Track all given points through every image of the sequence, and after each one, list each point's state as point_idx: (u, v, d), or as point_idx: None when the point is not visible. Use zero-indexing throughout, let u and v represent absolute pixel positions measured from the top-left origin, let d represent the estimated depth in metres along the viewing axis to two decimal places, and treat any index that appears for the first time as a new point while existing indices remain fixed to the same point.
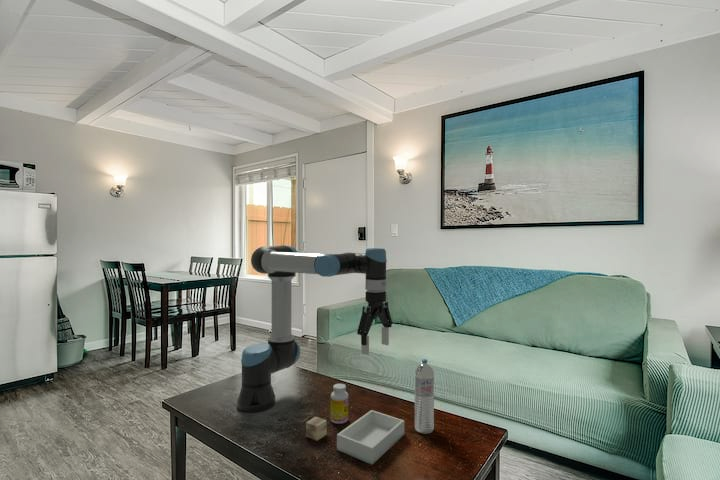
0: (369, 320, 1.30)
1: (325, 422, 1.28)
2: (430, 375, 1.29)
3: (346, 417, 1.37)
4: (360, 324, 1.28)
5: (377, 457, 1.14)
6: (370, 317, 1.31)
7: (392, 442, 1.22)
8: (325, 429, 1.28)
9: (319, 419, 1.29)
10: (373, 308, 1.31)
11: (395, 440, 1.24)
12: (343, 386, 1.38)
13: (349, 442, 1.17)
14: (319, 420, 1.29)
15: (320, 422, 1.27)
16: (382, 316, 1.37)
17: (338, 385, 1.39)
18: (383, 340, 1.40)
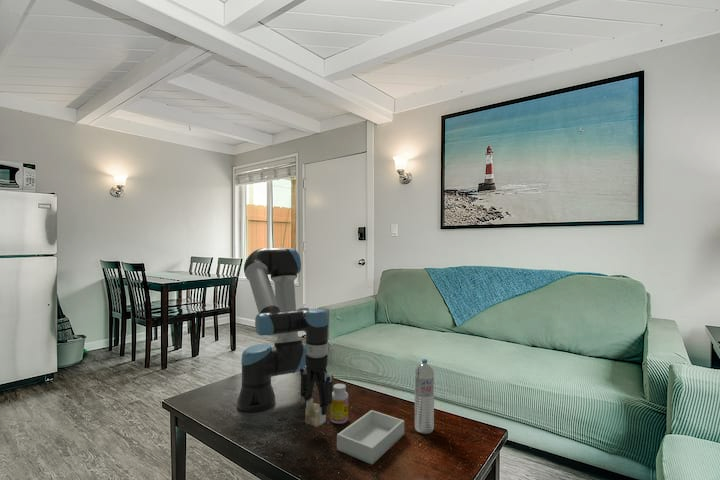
0: None
1: None
2: (430, 375, 1.29)
3: (346, 417, 1.37)
4: None
5: (377, 457, 1.14)
6: None
7: (392, 442, 1.22)
8: None
9: (318, 405, 1.30)
10: (307, 369, 1.29)
11: (395, 440, 1.24)
12: (343, 386, 1.38)
13: (349, 442, 1.17)
14: (318, 406, 1.29)
15: None
16: None
17: (338, 385, 1.39)
18: None
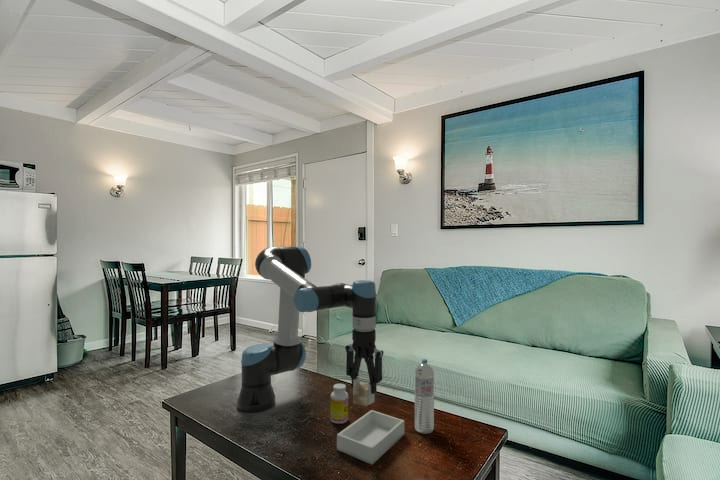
0: None
1: None
2: (430, 375, 1.29)
3: (346, 417, 1.37)
4: None
5: (377, 457, 1.14)
6: None
7: (392, 442, 1.22)
8: None
9: (366, 384, 1.21)
10: (353, 346, 1.20)
11: (395, 440, 1.24)
12: (343, 386, 1.38)
13: (349, 442, 1.17)
14: (366, 385, 1.20)
15: None
16: None
17: (338, 385, 1.39)
18: None
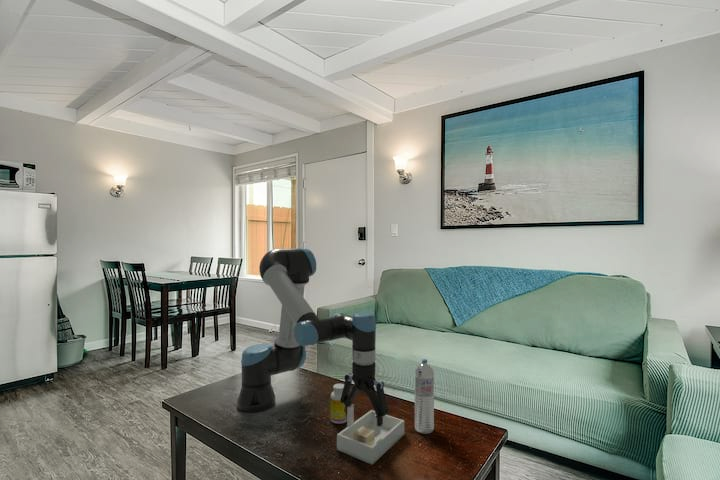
0: None
1: (373, 432, 1.20)
2: (430, 375, 1.29)
3: (346, 417, 1.37)
4: None
5: (377, 457, 1.14)
6: None
7: (392, 442, 1.22)
8: (373, 441, 1.20)
9: (366, 429, 1.21)
10: (353, 378, 1.21)
11: (395, 440, 1.24)
12: (343, 386, 1.38)
13: (349, 442, 1.17)
14: (367, 430, 1.20)
15: (369, 433, 1.19)
16: None
17: (338, 385, 1.39)
18: None
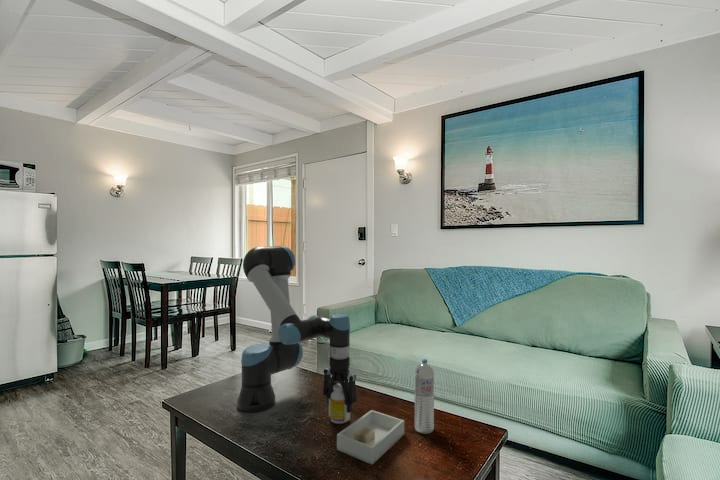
0: None
1: (373, 432, 1.20)
2: (430, 375, 1.29)
3: None
4: None
5: (377, 457, 1.14)
6: None
7: (392, 442, 1.22)
8: (373, 441, 1.20)
9: (366, 429, 1.21)
10: (331, 371, 1.40)
11: (395, 440, 1.24)
12: None
13: (349, 442, 1.17)
14: (367, 430, 1.20)
15: (369, 433, 1.19)
16: None
17: (338, 385, 1.39)
18: None
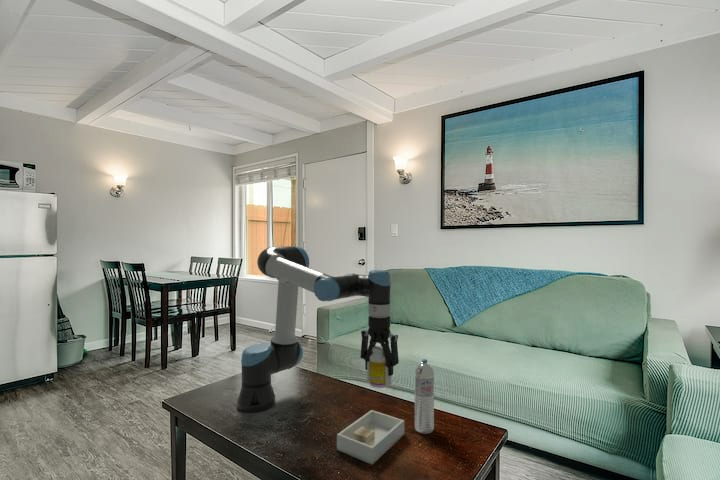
0: None
1: (373, 432, 1.20)
2: (430, 375, 1.29)
3: None
4: None
5: (377, 457, 1.14)
6: None
7: (392, 442, 1.22)
8: (373, 441, 1.20)
9: (366, 429, 1.21)
10: (369, 331, 1.28)
11: (395, 440, 1.24)
12: None
13: (349, 442, 1.17)
14: (367, 430, 1.20)
15: (369, 433, 1.19)
16: None
17: (377, 347, 1.28)
18: None
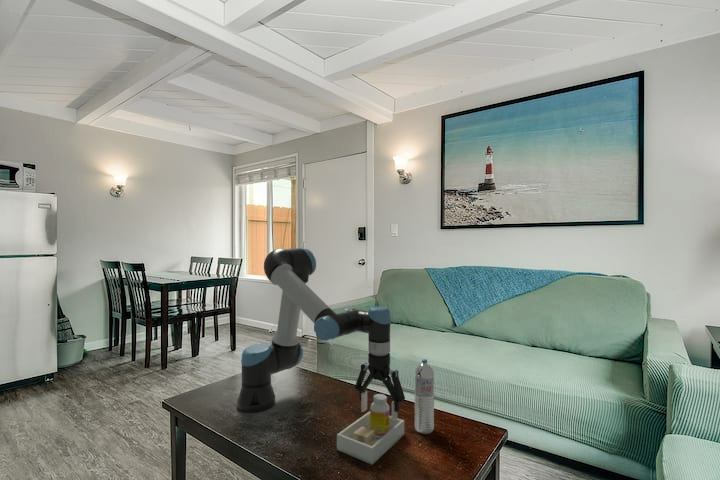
0: None
1: (373, 432, 1.20)
2: (430, 375, 1.29)
3: (387, 431, 1.26)
4: None
5: (377, 457, 1.14)
6: None
7: (392, 442, 1.22)
8: (373, 441, 1.20)
9: (366, 429, 1.21)
10: (369, 368, 1.28)
11: (395, 440, 1.24)
12: (384, 397, 1.27)
13: (349, 442, 1.17)
14: (367, 430, 1.20)
15: (369, 433, 1.19)
16: None
17: (378, 396, 1.28)
18: None
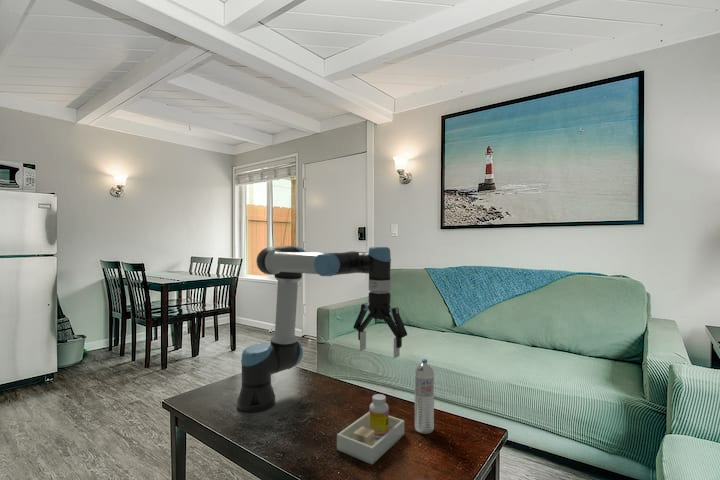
0: None
1: (373, 432, 1.20)
2: (430, 375, 1.29)
3: (387, 431, 1.26)
4: None
5: (377, 457, 1.14)
6: None
7: (392, 442, 1.22)
8: (373, 441, 1.20)
9: (366, 429, 1.21)
10: (369, 308, 1.28)
11: (395, 440, 1.24)
12: (383, 397, 1.27)
13: (349, 442, 1.17)
14: (367, 430, 1.20)
15: (369, 433, 1.19)
16: None
17: (377, 396, 1.28)
18: None
